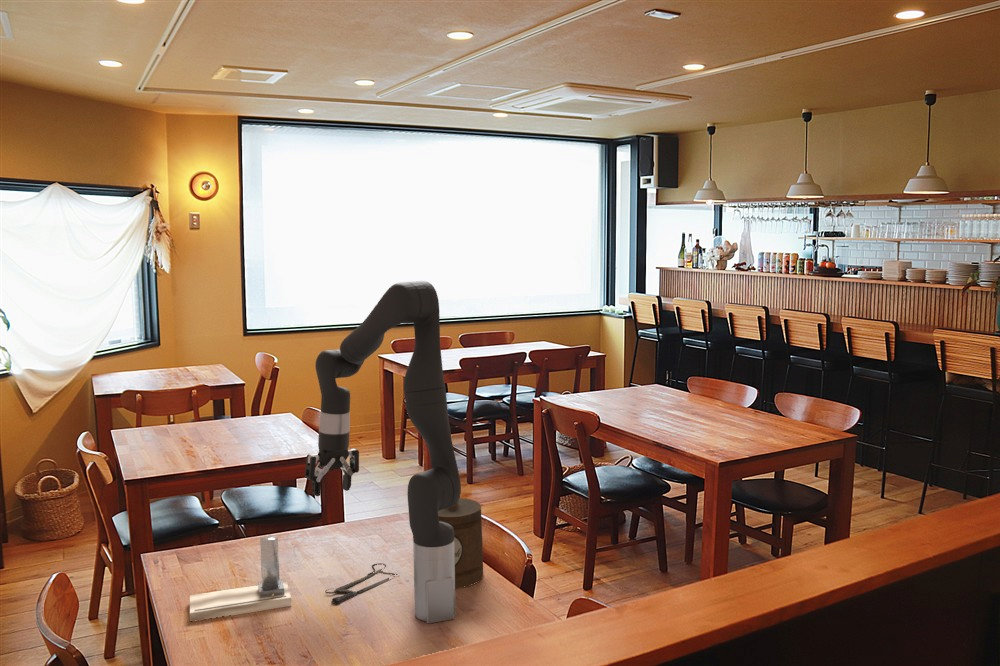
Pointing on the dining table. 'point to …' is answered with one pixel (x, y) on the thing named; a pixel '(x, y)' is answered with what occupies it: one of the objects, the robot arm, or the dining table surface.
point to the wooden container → (466, 540)
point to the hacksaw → (351, 593)
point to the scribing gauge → (270, 568)
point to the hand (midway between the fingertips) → (331, 492)
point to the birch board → (234, 602)
